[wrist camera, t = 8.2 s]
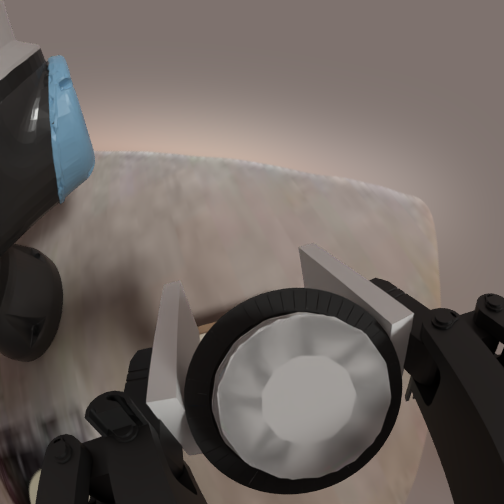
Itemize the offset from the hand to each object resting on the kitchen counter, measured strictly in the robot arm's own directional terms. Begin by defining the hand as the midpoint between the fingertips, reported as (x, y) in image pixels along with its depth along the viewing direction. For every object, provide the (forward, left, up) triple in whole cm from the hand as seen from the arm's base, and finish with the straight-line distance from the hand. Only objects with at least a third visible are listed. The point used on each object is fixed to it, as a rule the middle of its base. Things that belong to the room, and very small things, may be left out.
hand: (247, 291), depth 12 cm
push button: (0, -4, -4) cm, 6 cm away
